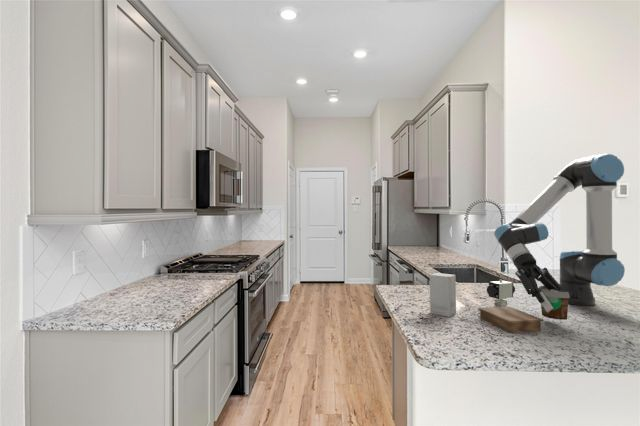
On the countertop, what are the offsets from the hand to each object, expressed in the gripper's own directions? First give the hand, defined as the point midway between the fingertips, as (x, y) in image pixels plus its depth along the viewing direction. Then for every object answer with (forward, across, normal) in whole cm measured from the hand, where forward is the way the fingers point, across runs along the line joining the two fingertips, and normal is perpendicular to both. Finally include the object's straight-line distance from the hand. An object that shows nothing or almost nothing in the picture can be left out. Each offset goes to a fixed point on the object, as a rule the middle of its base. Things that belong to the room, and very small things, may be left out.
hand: (558, 309), depth 130 cm
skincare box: (-13, +31, -20) cm, 40 cm away
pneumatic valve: (-14, +2, -23) cm, 27 cm away
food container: (0, 0, -5) cm, 5 cm away
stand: (0, +16, -8) cm, 18 cm away
